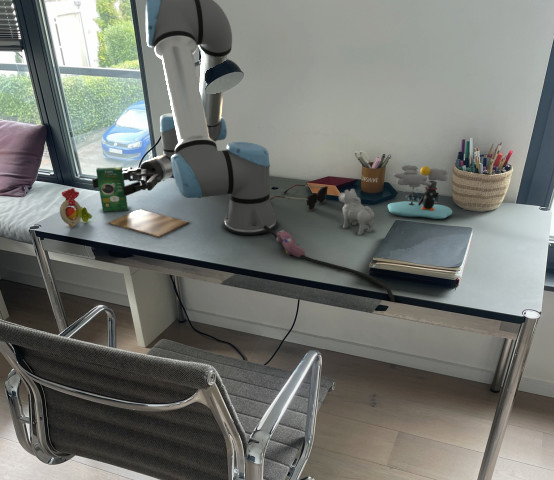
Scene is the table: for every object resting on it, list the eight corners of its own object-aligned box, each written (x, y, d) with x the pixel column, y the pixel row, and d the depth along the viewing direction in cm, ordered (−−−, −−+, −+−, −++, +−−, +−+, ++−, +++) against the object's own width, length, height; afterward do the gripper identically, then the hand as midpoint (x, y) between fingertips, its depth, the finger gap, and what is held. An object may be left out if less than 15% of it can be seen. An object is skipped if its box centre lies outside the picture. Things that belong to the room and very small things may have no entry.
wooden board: (188, 223, 170) (188, 221, 170) (159, 237, 161) (158, 236, 161) (139, 210, 179) (139, 209, 178) (109, 223, 170) (109, 222, 170)
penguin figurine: (452, 212, 177) (461, 162, 168) (450, 224, 169) (459, 173, 160) (389, 205, 182) (395, 157, 174) (383, 216, 174) (389, 166, 165)
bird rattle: (81, 235, 168) (97, 214, 172) (62, 206, 159) (80, 185, 163) (65, 231, 170) (82, 211, 174) (46, 203, 161) (64, 182, 165)
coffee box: (129, 207, 181) (122, 165, 173) (128, 210, 179) (122, 168, 171) (103, 209, 180) (95, 167, 172) (102, 212, 178) (94, 170, 170)
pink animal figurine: (281, 250, 157) (270, 230, 153) (295, 242, 157) (284, 221, 153) (292, 265, 150) (281, 244, 145) (307, 256, 149) (296, 235, 145)
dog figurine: (345, 219, 172) (347, 184, 166) (375, 232, 164) (379, 195, 158) (332, 223, 170) (334, 188, 164) (362, 236, 162) (366, 199, 155)
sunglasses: (307, 213, 177) (307, 197, 174) (264, 206, 184) (263, 191, 181) (328, 200, 186) (328, 185, 183) (286, 194, 194) (285, 180, 191)
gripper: (185, 187, 185) (139, 206, 171) (130, 175, 196) (83, 192, 182) (183, 164, 181) (136, 182, 167) (127, 153, 192) (78, 168, 178)
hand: (108, 187), depth 174 cm, fingers open, 13 cm apart
